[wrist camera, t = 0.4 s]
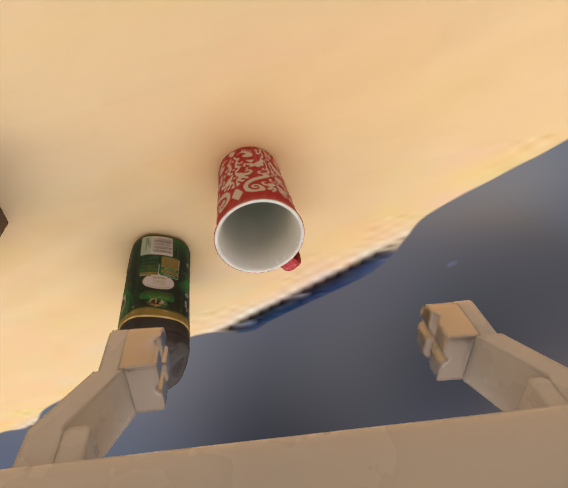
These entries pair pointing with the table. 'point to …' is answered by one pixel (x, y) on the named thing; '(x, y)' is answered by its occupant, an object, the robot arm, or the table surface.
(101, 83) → the table surface
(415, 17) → the table surface
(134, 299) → the coffee jar
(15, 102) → the table surface
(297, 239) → the mug
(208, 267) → the table surface
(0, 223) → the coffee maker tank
